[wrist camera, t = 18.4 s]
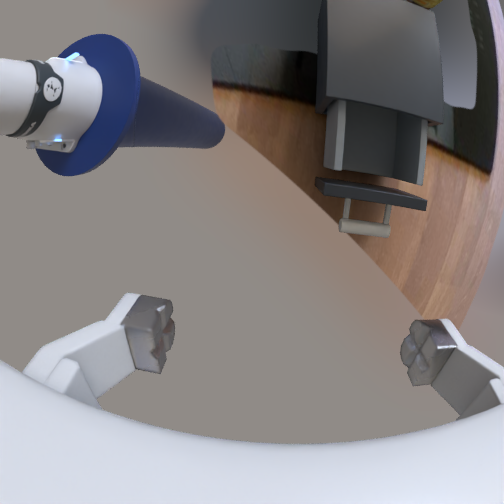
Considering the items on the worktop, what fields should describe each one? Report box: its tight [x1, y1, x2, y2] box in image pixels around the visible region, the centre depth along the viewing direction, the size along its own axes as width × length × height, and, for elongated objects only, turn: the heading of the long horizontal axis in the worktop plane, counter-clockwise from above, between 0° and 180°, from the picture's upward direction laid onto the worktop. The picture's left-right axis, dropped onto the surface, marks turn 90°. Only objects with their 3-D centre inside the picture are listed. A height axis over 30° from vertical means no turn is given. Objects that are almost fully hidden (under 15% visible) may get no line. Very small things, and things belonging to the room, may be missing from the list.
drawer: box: [315, 99, 428, 238], centre depth 28 cm, size 18×12×9 cm, turn 176°
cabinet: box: [315, 0, 444, 126], centre depth 23 cm, size 15×13×11 cm
